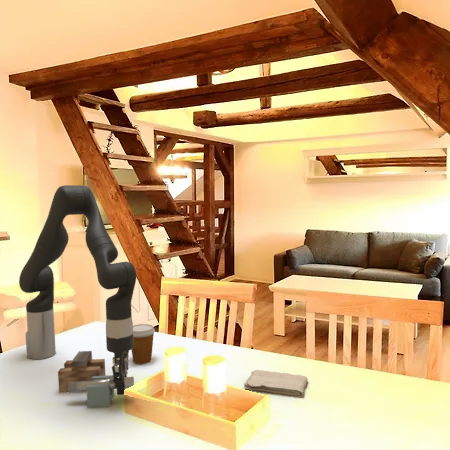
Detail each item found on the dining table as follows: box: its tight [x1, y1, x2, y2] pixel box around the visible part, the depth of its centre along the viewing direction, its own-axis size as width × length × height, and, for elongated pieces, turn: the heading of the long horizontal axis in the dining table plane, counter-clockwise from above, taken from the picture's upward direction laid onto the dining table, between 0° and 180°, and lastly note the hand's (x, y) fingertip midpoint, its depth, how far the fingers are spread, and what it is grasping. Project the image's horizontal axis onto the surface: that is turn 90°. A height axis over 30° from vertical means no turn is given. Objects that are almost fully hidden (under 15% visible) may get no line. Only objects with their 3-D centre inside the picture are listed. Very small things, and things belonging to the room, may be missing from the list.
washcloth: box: [243, 369, 309, 398], centre depth 135 cm, size 12×18×3 cm, turn 72°
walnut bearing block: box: [57, 350, 106, 394], centre depth 138 cm, size 12×9×9 cm
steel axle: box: [67, 376, 135, 394], centre depth 127 cm, size 18×3×3 cm, turn 94°
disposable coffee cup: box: [130, 323, 156, 365], centre depth 158 cm, size 10×10×12 cm
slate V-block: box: [86, 374, 115, 409], centre depth 128 cm, size 6×7×6 cm
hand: (122, 391), depth 128 cm, fingers open, 3 cm apart
